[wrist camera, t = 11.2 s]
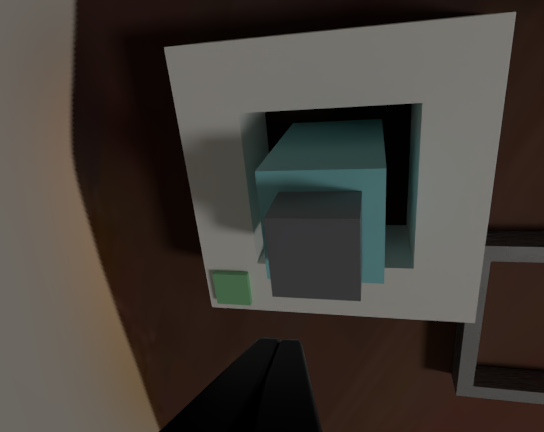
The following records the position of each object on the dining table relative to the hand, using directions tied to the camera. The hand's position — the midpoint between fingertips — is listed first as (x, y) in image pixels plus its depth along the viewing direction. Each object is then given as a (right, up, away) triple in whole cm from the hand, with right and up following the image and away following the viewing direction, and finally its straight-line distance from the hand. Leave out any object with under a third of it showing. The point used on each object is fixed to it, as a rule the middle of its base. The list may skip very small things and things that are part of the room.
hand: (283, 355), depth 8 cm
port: (+3, +5, +11) cm, 13 cm away
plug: (+3, +5, +11) cm, 13 cm away
